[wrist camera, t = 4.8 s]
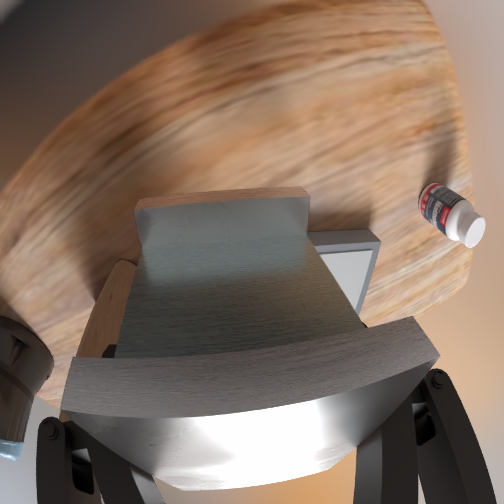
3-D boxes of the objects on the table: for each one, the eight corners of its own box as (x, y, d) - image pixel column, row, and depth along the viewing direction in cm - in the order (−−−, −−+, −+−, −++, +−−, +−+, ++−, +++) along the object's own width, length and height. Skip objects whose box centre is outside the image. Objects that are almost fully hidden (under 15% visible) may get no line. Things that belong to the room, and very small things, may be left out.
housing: (176, 349, 16) (182, 490, 8) (139, 198, 11) (59, 409, 3) (285, 337, 17) (328, 469, 9) (300, 186, 12) (440, 356, 4)
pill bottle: (416, 187, 28) (464, 219, 21) (443, 177, 28) (490, 205, 21) (417, 223, 31) (459, 259, 24) (443, 211, 31) (485, 243, 23)
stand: (252, 326, 36) (255, 344, 34) (253, 235, 29) (258, 250, 26) (346, 313, 38) (354, 328, 35) (368, 229, 31) (381, 242, 28)
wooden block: (120, 252, 28) (62, 424, 11) (194, 293, 32) (197, 462, 15) (93, 305, 31) (53, 446, 14) (157, 337, 35) (148, 475, 18)
